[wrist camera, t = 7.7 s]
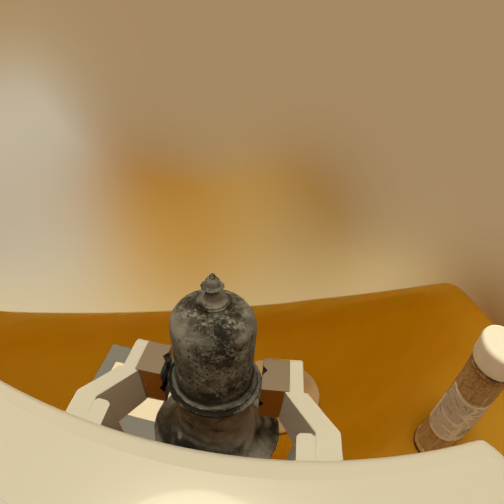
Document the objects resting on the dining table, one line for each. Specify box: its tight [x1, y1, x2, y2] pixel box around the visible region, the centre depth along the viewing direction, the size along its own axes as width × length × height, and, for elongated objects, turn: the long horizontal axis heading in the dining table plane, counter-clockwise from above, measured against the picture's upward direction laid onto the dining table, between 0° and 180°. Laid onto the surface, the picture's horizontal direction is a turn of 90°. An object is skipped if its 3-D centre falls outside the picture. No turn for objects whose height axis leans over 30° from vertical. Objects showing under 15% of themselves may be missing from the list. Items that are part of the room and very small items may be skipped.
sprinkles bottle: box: [415, 325, 504, 452], centre depth 18 cm, size 5×5×14 cm
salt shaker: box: [154, 273, 279, 459], centre depth 11 cm, size 6×6×12 cm
